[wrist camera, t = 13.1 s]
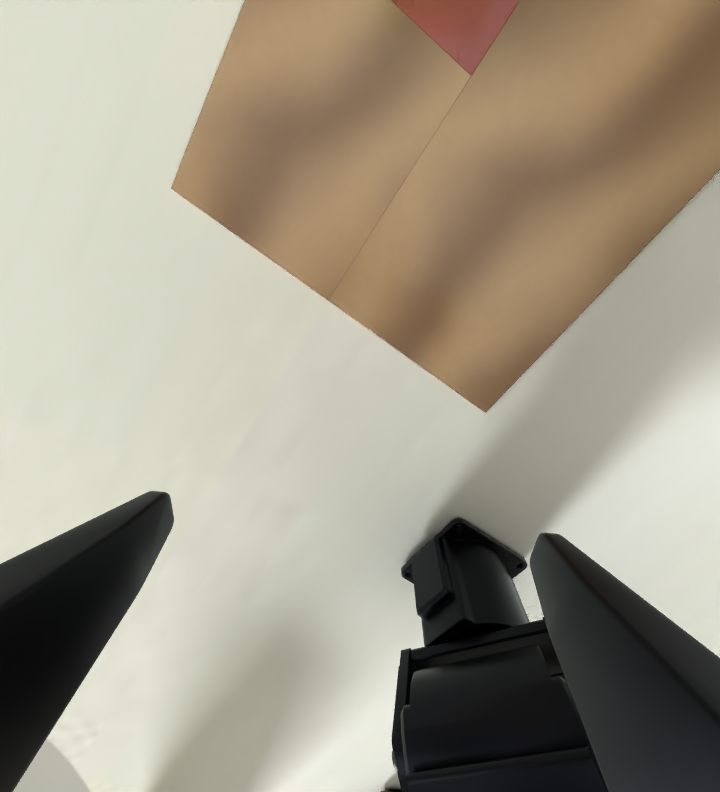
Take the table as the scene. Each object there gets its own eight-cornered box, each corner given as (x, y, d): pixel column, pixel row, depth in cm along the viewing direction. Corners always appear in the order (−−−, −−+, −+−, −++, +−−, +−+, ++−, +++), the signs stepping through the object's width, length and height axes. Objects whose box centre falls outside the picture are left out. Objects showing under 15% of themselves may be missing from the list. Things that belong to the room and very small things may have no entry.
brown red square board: (848, 31, 13) (856, 27, 13) (484, 411, 20) (485, 412, 20) (445, -500, 9) (446, -514, 9) (173, 188, 16) (170, 188, 16)
